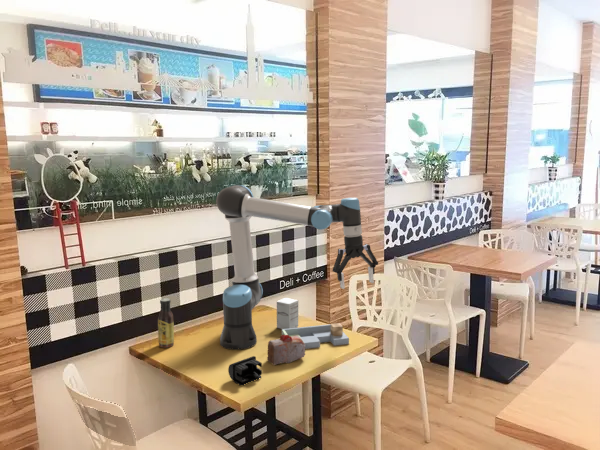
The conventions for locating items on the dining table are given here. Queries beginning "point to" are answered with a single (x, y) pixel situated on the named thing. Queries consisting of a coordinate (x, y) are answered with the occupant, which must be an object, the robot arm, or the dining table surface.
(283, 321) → the supplement box
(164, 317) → the sauce bottle
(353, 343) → the dining table surface
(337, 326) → the oak block
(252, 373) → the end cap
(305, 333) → the tray
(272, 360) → the food item
